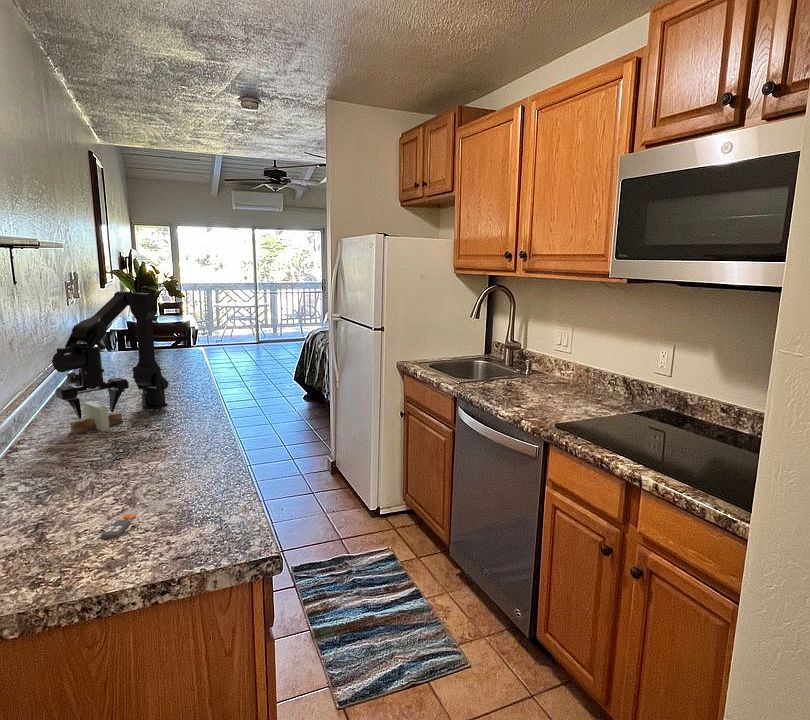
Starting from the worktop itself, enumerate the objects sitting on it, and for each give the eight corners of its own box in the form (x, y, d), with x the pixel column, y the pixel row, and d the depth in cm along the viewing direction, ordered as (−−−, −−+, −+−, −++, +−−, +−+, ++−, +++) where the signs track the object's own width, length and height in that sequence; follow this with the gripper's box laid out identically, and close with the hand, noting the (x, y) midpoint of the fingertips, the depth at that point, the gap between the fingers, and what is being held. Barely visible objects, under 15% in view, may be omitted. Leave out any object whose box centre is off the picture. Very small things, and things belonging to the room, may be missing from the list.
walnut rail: (119, 421, 167) (118, 412, 166) (122, 422, 165) (121, 413, 165) (71, 432, 156) (69, 422, 155) (73, 433, 155) (72, 423, 154)
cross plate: (85, 423, 164) (83, 402, 162) (92, 422, 165) (90, 401, 164) (102, 431, 156) (100, 409, 155) (109, 429, 158) (107, 407, 157)
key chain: (120, 540, 97) (119, 533, 96) (99, 541, 96) (98, 533, 96) (149, 507, 109) (148, 501, 109) (131, 508, 109) (130, 501, 109)
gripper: (111, 358, 169) (116, 404, 172) (45, 367, 155) (51, 417, 158) (127, 362, 162) (132, 410, 165) (59, 372, 148) (66, 424, 151)
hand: (96, 415), depth 160 cm, fingers open, 9 cm apart
